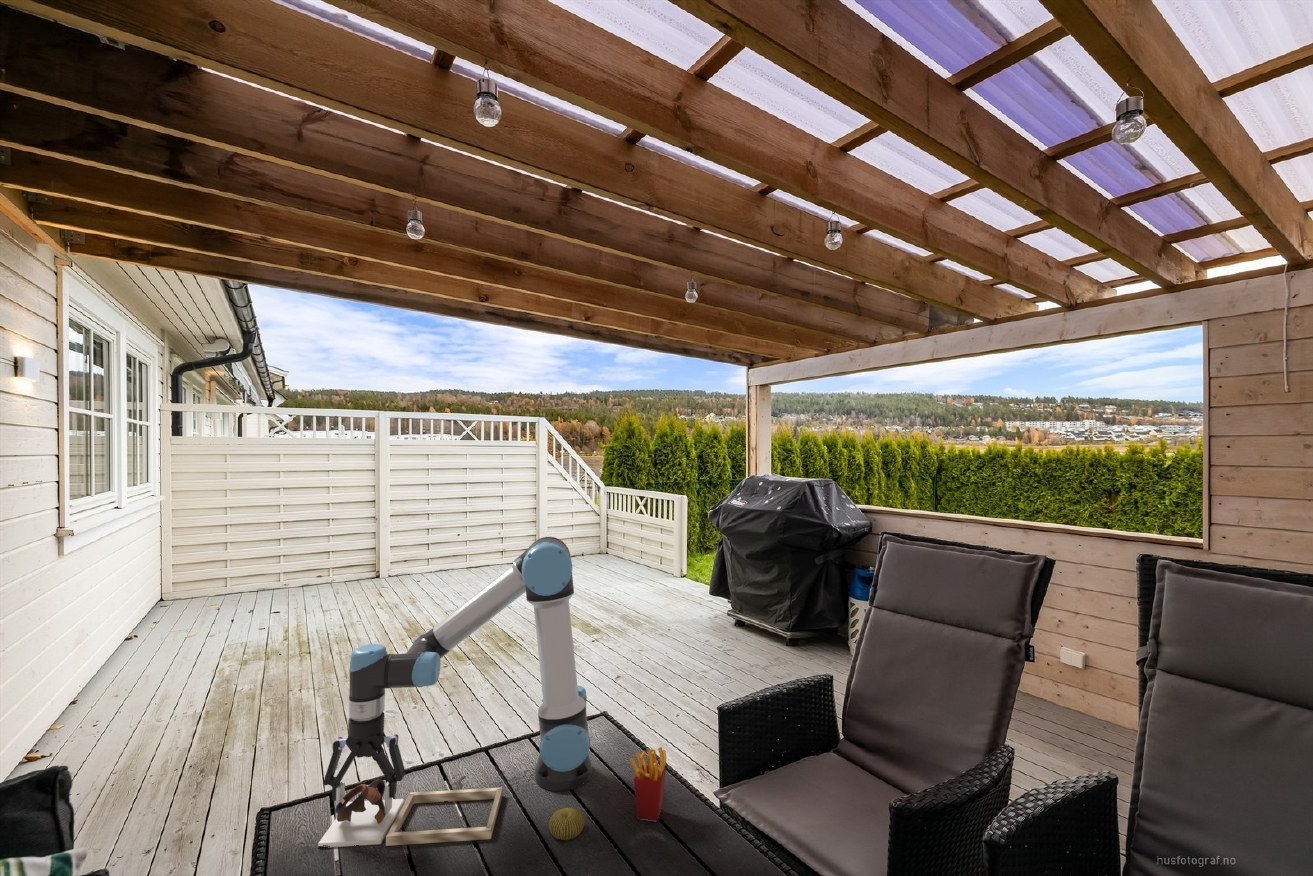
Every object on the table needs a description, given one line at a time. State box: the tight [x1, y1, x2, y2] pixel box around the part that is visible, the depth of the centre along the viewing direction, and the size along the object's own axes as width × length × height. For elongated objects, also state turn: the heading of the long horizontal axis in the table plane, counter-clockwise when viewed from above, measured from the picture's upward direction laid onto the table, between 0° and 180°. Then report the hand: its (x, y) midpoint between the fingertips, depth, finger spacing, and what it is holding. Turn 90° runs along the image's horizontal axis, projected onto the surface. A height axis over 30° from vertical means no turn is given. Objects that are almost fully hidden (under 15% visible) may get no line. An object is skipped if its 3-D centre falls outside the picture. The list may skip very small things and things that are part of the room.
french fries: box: [629, 746, 667, 821], centre depth 136 cm, size 9×8×15 cm
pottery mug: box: [334, 778, 386, 824], centre depth 130 cm, size 12×10×8 cm
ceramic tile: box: [317, 798, 405, 848], centre depth 130 cm, size 13×15×1 cm
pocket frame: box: [385, 786, 504, 847], centre depth 133 cm, size 22×16×2 cm
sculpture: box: [548, 806, 585, 841], centre depth 128 cm, size 8×4×8 cm
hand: (364, 812), depth 131 cm, fingers closed on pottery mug, 10 cm apart
